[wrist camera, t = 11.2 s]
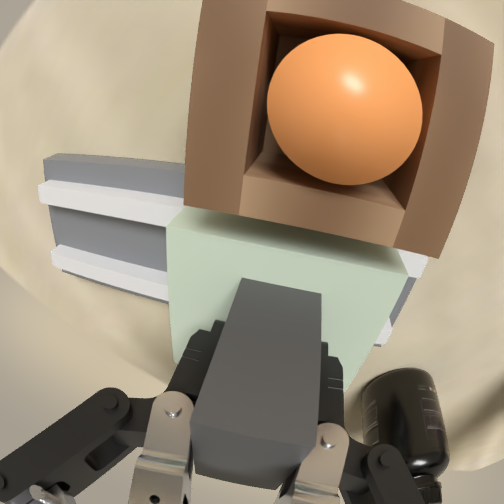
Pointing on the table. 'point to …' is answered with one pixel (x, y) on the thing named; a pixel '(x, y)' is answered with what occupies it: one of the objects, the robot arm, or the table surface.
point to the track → (132, 223)
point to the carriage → (270, 332)
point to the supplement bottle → (408, 425)
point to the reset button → (344, 109)
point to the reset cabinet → (288, 173)
